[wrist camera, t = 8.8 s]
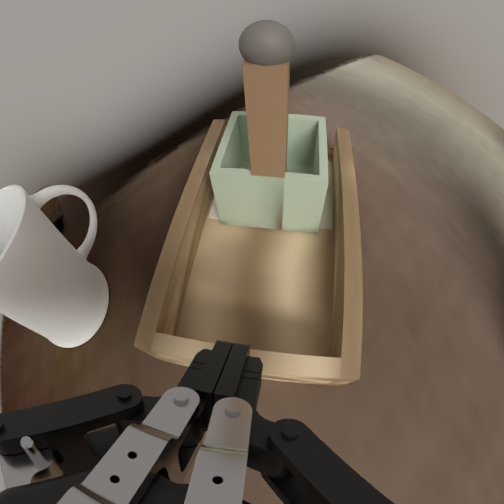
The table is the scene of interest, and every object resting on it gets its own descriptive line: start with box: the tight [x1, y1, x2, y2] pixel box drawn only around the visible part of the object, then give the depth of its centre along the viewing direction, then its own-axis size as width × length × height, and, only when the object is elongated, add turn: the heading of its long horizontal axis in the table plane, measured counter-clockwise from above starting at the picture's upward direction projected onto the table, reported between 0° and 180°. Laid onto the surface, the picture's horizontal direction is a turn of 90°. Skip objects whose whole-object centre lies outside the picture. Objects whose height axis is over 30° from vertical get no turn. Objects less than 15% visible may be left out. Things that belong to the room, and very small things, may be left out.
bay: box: [134, 120, 363, 386], centre depth 23 cm, size 13×22×5 cm, turn 171°
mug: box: [0, 185, 109, 348], centre depth 18 cm, size 12×8×12 cm
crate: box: [209, 20, 328, 234], centre depth 19 cm, size 8×8×16 cm
